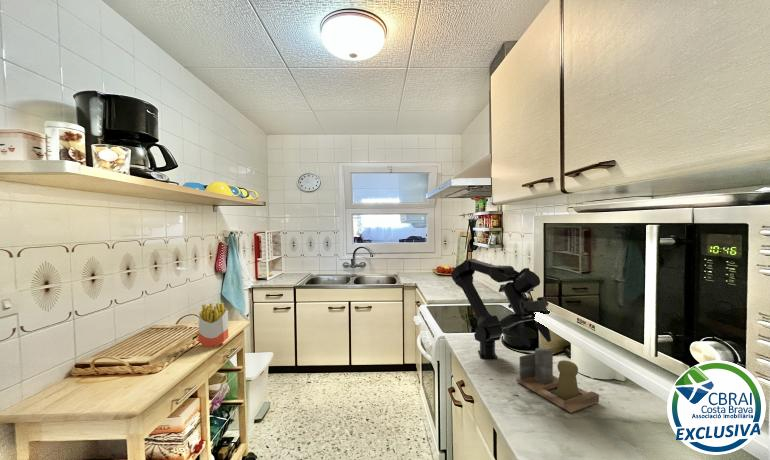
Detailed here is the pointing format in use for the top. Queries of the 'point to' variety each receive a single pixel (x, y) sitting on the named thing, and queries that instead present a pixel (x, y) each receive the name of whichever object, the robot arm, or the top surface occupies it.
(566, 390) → the tan rounded peg
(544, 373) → the wooden shape sorter tray
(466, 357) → the top surface
